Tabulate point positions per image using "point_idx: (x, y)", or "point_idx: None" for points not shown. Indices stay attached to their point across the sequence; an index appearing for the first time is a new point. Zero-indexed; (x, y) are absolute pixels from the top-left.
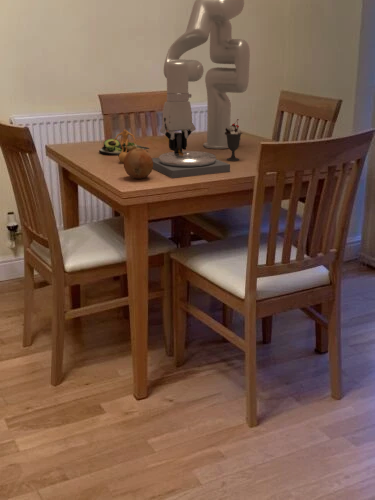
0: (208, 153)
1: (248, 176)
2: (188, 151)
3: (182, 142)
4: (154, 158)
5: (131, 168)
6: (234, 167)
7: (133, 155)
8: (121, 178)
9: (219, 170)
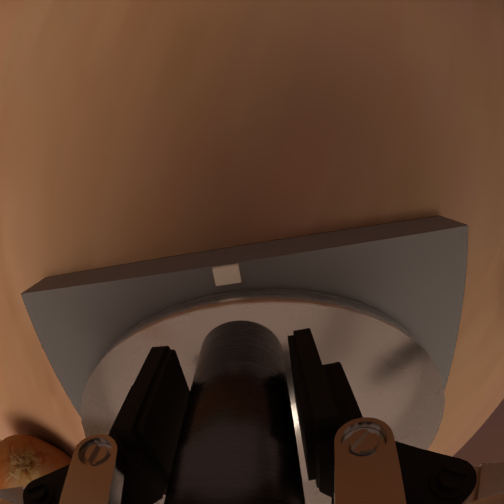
0: (432, 414)
1: None
2: (352, 336)
3: (300, 419)
4: (60, 304)
5: None
6: (459, 412)
7: None
8: (10, 424)
9: None
